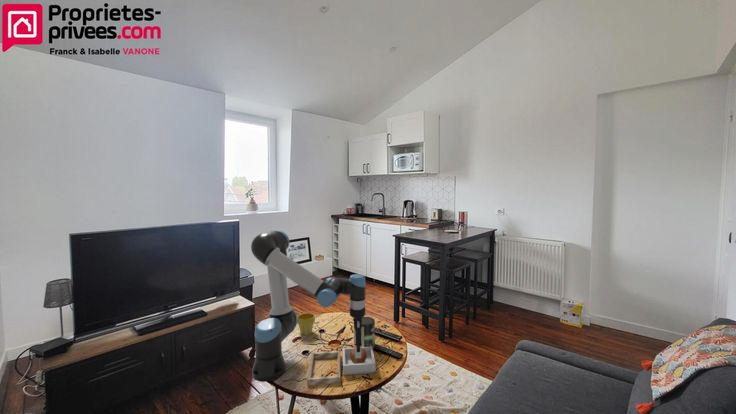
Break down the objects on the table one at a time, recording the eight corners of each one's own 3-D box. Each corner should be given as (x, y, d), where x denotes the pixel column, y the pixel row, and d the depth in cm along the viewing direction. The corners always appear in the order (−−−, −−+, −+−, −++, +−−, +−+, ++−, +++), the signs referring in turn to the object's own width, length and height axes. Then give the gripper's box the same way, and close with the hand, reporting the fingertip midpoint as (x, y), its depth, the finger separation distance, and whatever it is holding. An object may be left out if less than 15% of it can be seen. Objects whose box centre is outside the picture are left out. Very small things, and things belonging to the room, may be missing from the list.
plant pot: (306, 326, 185) (306, 311, 184) (318, 331, 179) (318, 315, 178) (293, 333, 176) (293, 317, 176) (305, 338, 170) (305, 321, 170)
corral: (307, 385, 130) (307, 379, 130) (311, 357, 151) (311, 352, 151) (340, 382, 131) (340, 377, 131) (340, 355, 152) (340, 350, 152)
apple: (347, 365, 142) (346, 349, 142) (354, 357, 149) (354, 341, 149) (362, 369, 139) (362, 353, 138) (369, 360, 146) (369, 345, 146)
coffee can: (376, 341, 166) (376, 317, 165) (373, 351, 156) (372, 325, 155) (358, 339, 168) (358, 315, 167) (354, 349, 158) (353, 323, 157)
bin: (343, 375, 136) (343, 365, 136) (342, 356, 151) (342, 348, 151) (375, 372, 138) (375, 363, 137) (372, 354, 153) (371, 346, 152)
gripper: (367, 318, 131) (367, 364, 132) (363, 297, 155) (363, 336, 157) (350, 318, 130) (350, 365, 131) (348, 297, 155) (348, 337, 156)
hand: (357, 349), depth 144 cm, fingers open, 13 cm apart
